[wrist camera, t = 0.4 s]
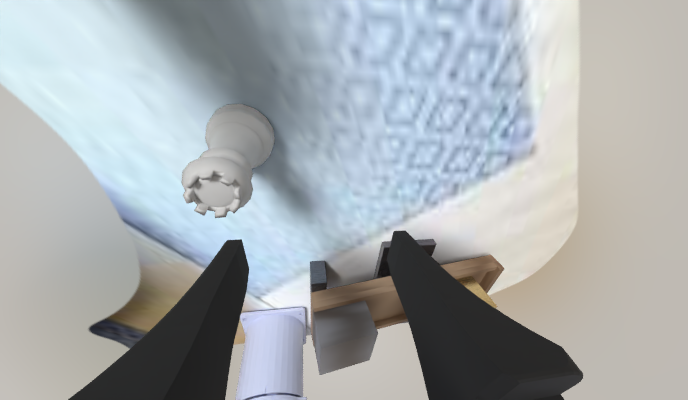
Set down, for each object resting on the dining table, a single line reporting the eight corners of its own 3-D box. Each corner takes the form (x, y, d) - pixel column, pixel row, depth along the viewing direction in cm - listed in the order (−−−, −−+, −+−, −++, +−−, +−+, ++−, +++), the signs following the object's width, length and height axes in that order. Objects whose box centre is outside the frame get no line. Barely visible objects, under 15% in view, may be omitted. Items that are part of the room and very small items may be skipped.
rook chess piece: (274, 164, 20) (261, 234, 13) (212, 157, 19) (168, 229, 12) (277, 107, 17) (263, 160, 11) (206, 95, 16) (146, 146, 10)
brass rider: (420, 306, 29) (440, 341, 26) (432, 282, 26) (455, 318, 23) (456, 297, 30) (479, 329, 27) (470, 274, 28) (497, 306, 25)
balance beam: (310, 331, 27) (319, 378, 24) (310, 292, 23) (321, 343, 19) (468, 291, 33) (493, 325, 29) (490, 254, 29) (524, 288, 25)
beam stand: (310, 300, 32) (311, 334, 28) (309, 245, 26) (311, 280, 22) (412, 291, 34) (424, 322, 30) (433, 239, 28) (451, 270, 24)
